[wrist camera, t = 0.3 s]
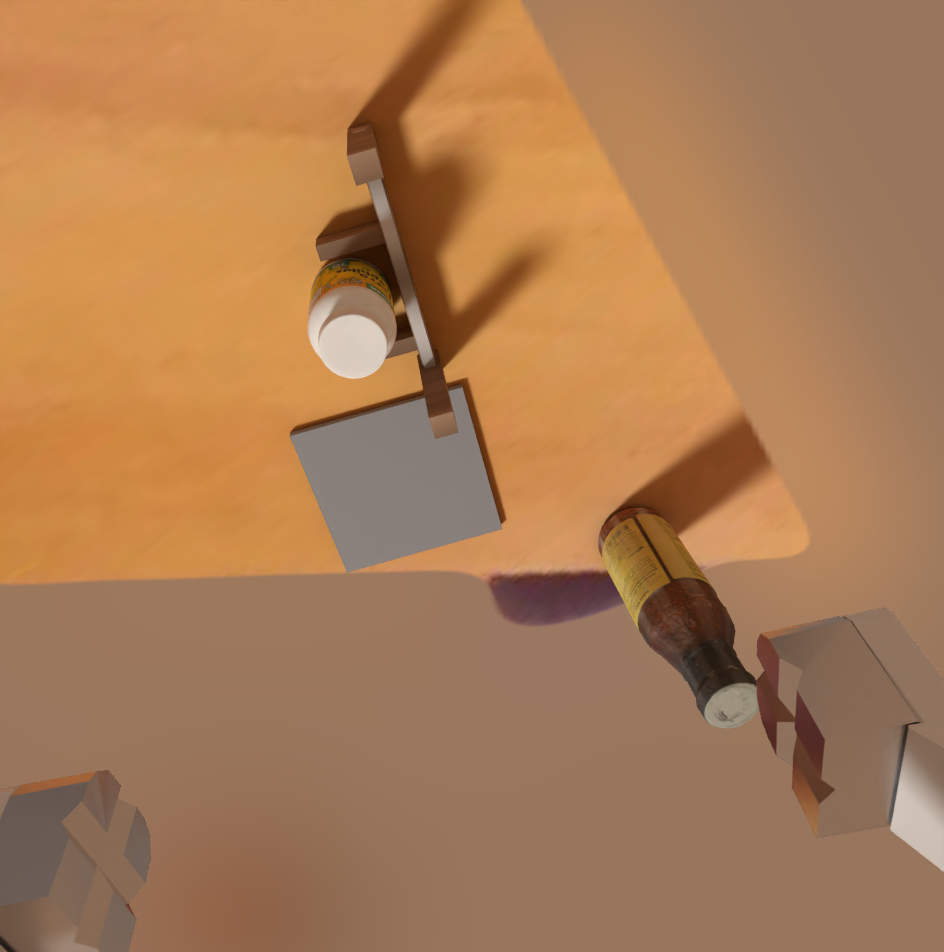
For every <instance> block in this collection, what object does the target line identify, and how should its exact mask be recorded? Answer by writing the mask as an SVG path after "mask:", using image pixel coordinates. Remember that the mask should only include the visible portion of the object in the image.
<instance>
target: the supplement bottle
mask: <svg viewBox="0 0 944 952" xmlns="http://www.w3.org/2000/svg"><path fill="white" fill-rule="evenodd" d="M396 332H397V325H396V319H395V312H394V307H393V299H392V294H391V290H390V286H389V284H388V281H387V279H386V277H385V276H384V274H383V273H382V272H381V271H380V270H379V269H378V268H377V267H376V266H375V265H373V264H371V263H370V262H367V261H365V260H362V259H358V258H345V259H341V260H337V261H334V262H332V263H330V264H328V265H326V266H325V267H324V268H323V269H322V270H321V271H320V272H319V273H318V275H317V276H316V278H315V280H314V283H313V286H312V291H311V299H310V308H309V318H308V335H309V339H310V342H311V345H312V347H313V348H314V350H315V352H316V353H317V354H318V356H319V357H320V358H321V359H322V360H323V362H324V364H325V365H326V366H327V367H328V368H329V369H330V370H331V371H332V372H334V373H335V374H337V375H339V376H342V377H346V378H362V377H366V376H368V375H370V374H372V373H374V372H375V371H376V370H378V369H379V368H380V366H381V365H382V364H383V362H384V360H385V358H386V356H387V355H388V354H389V353H390V351H391V349H392V347H393V345H394V342H395V339H396Z"/></svg>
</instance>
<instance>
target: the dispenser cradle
mask: <svg viewBox="0 0 944 952" xmlns="http://www.w3.org/2000/svg"><path fill="white" fill-rule="evenodd" d="M347 158H348V161H349V164H350V167H351V171H352V174H353V177H354V180H355V183H356V186H357V185H361V184H364V183H367V185H368V188H369V191H370V195H371V198H372V201H373V205H374V208H375V211H376V214H377V218H378V221H375V222H372V223H368V224H365V225H361V226H358V227H354V228H351V229H347V230H344V231H340V232H337V233H333V234H330V235H326V236H323V237H319V238H317V240H316V249H317V252H318V255H319V258H320V260H321V261H325V260H328V259H332V258H335V257H339V256H342V255H346V254H349V253H353V252H356V251H360V250H363V249H366V248H370V247H373V246H377V245H380V244H384V243H385V244H386V247H387V251H388V254H389V257H390V260H391V264H392V267H393V270H394V274H395V277H396V280H397V283H398V287H399V290H400V293H401V297H402V300H403V303H404V306H405V310H406V313H407V316H408V320H409V323H410V326H411V327H407V328H404V329H400V330H397V332H396V339H395V342H394V345H393V347H392V349H391V351H390V353H389V354H388V355H387V356H386V358H385V359H387V358H391V357H394V356H398V355H401V354H405V353H408V352H412V351H415V350H418V352H419V356H417V358H418V363H419V369H420V374H421V380H422V385H423V390H424V396H425V401H426V406H427V412H428V417H429V421H430V424H431V427H432V430H433V434H434V437H435V439H438V438H441V437H445V436H449V435H452V434H456V433H459V432H458V428H457V424H456V420H455V416H454V412H453V408H452V404H451V400H450V396H449V392H448V388H447V384H446V380H445V375H444V371H443V368H442V364H441V361H440V357H439V354H438V350H437V351H434V349H433V346H432V343H431V339H430V336H429V332H428V329H427V325H426V322H425V319H424V315H423V312H422V308H421V305H420V302H419V298H418V295H417V291H416V288H415V285H414V281H413V278H412V274H411V271H410V267H409V264H408V261H407V257H406V254H405V250H404V247H403V244H402V240H401V237H400V233H399V230H398V227H397V223H396V220H395V216H394V213H393V209H392V206H391V203H390V199H389V196H388V192H387V189H386V186H385V182H384V179H383V178H384V174H383V169H382V164H381V158H380V153H379V147H378V144H377V141H376V137H375V134H374V130H373V127H372V123H371V122H370V123H366V124H363V125H360V126H356V127H353V128H349V129H348V134H347Z"/></svg>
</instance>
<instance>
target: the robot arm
mask: <svg viewBox="0 0 944 952" xmlns="http://www.w3.org/2000/svg"><path fill="white" fill-rule="evenodd" d="M757 657H758V659H759V661H760V663H761V665H762V667H763V669H764V672H763V673H762V674H761V675H760V677H759V678H758V679H757V680H756V684H757V701H758V706H759V711H760V715H761V720H762V723H763V726H764V728H765V731H766V734H767V737H768V739H769V741H770V743H771V745H772V747H773V749H774V752H775V754H776V756H778V757H779V758H781V759H782V760H784V761H785V762H787V763H788V764H790V765H791V766H793V771H792V789H793V791H794V793H795V795H796V797H797V799H798V802H799V804H800V806H801V808H802V810H803V811H804V814H805V816H806V818H807V820H808V822H809V824H810V826H811V828H812V830H813V832H814V834H815V836H816V838H822V837H828V836H834V835H840V834H846V833H851V832H857V831H863V830H869V829H874V828H881V827H886V826H891V831H893V832H894V833H895V834H896V835H898V836H899V837H900V838H902V839H903V840H904V841H905V842H907V843H908V844H909V845H910V846H912V847H913V848H914V849H916V850H917V851H918V852H919V853H921V854H922V855H923V856H924V857H926V858H927V859H928V860H930V861H931V862H932V863H933V864H935V865H936V866H937V867H939V868H940V869H941V870H942V871H944V677H943V676H942V675H941V674H940V673H939V671H938V670H937V668H936V667H935V666H934V664H933V663H932V662H931V660H930V659H929V658H928V657H927V655H926V654H925V653H924V651H923V650H922V649H921V647H920V646H919V645H918V644H917V642H916V641H915V640H914V639H913V637H912V636H911V634H910V633H909V632H908V631H907V629H906V628H905V627H904V625H903V624H902V623H901V622H900V620H899V619H898V617H897V616H896V615H895V614H894V612H892V611H890V610H889V609H887V608H885V607H884V608H879V609H874V610H869V611H864V612H859V613H855V614H850V615H845V616H842V617H839V616H837V617H833V618H828V619H823V620H819V621H814V622H810V623H805V624H801V625H796V626H792V627H788V628H782V629H778V630H773V631H769V632H765V633H760V635H759V637H758V640H757ZM120 788H121V785H120V784H119V783H118V781H117V780H116V779H115V778H114V776H113V775H112V774H111V773H110V771H109V770H104V771H96V772H90V773H84V774H80V775H74V776H68V777H62V778H56V779H51V780H46V781H40V782H34V783H29V784H23V785H19V786H14V787H8V788H4V789H0V952H128V951H129V947H130V943H131V939H132V935H133V930H134V927H135V923H136V917H135V915H134V913H133V911H132V910H131V908H130V905H129V902H130V901H131V900H132V899H133V898H134V896H135V895H136V894H137V893H138V891H139V890H140V889H141V888H142V886H143V885H144V884H145V882H146V877H147V873H148V869H149V864H150V859H151V857H150V834H149V831H148V828H147V825H146V822H145V819H144V817H143V816H142V814H141V813H140V811H139V810H138V808H137V807H136V806H133V805H131V804H128V803H126V802H124V801H121V800H119V799H117V798H118V795H119V791H120Z"/></svg>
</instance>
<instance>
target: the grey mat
mask: <svg viewBox="0 0 944 952" xmlns="http://www.w3.org/2000/svg"><path fill="white" fill-rule="evenodd" d="M448 392H449V396H450V400H451V404H452V408H453V412H454V416H455V420H456V424H457V428H458V432H459V433H456V434H452V435H449V436H445V437H441V438H438V439H435V437H434V434H433V430H432V427H431V424H430V421H429V417H428V412H427V406H426V401H425V396H424V395H420V396H417V397H413V398H410V399H406V400H403V401H399V402H396V403H392V404H389V405H385V406H381V407H378V408H374V409H371V410H367V411H364V412H360V413H357V414H353V415H350V416H346V417H343V418H339V419H336V420H332V421H329V422H325V423H322V424H318V425H314V426H311V427H307V428H304V429H300V430H297V431H293V432H290V438H291V440H292V442H293V445H294V447H295V450H296V452H297V454H298V457H299V459H300V461H301V464H302V466H303V469H304V471H305V473H306V476H307V478H308V481H309V483H310V485H311V488H312V490H313V492H314V495H315V497H316V500H317V502H318V504H319V507H320V509H321V512H322V514H323V516H324V519H325V521H326V523H327V526H328V528H329V531H330V533H331V535H332V538H333V540H334V542H335V545H336V547H337V550H338V552H339V554H340V557H341V559H342V562H343V564H344V566H345V569H346V571H347V572H351V571H354V570H358V569H361V568H365V567H368V566H372V565H376V564H379V563H383V562H386V561H390V560H393V559H397V558H401V557H404V556H408V555H411V554H415V553H418V552H422V551H426V550H429V549H433V548H436V547H440V546H443V545H447V544H450V543H454V542H458V541H461V540H465V539H468V538H472V537H475V536H479V535H483V534H486V533H490V532H493V531H497V530H500V529H502V527H501V523H500V519H499V516H498V512H497V509H496V505H495V502H494V498H493V494H492V491H491V487H490V484H489V480H488V477H487V473H486V469H485V466H484V462H483V459H482V455H481V452H480V448H479V444H478V441H477V437H476V434H475V430H474V427H473V423H472V420H471V416H470V412H469V409H468V405H467V402H466V398H465V395H464V391H463V387H462V384H459V385H455V386H452V387H448Z"/></svg>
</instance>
